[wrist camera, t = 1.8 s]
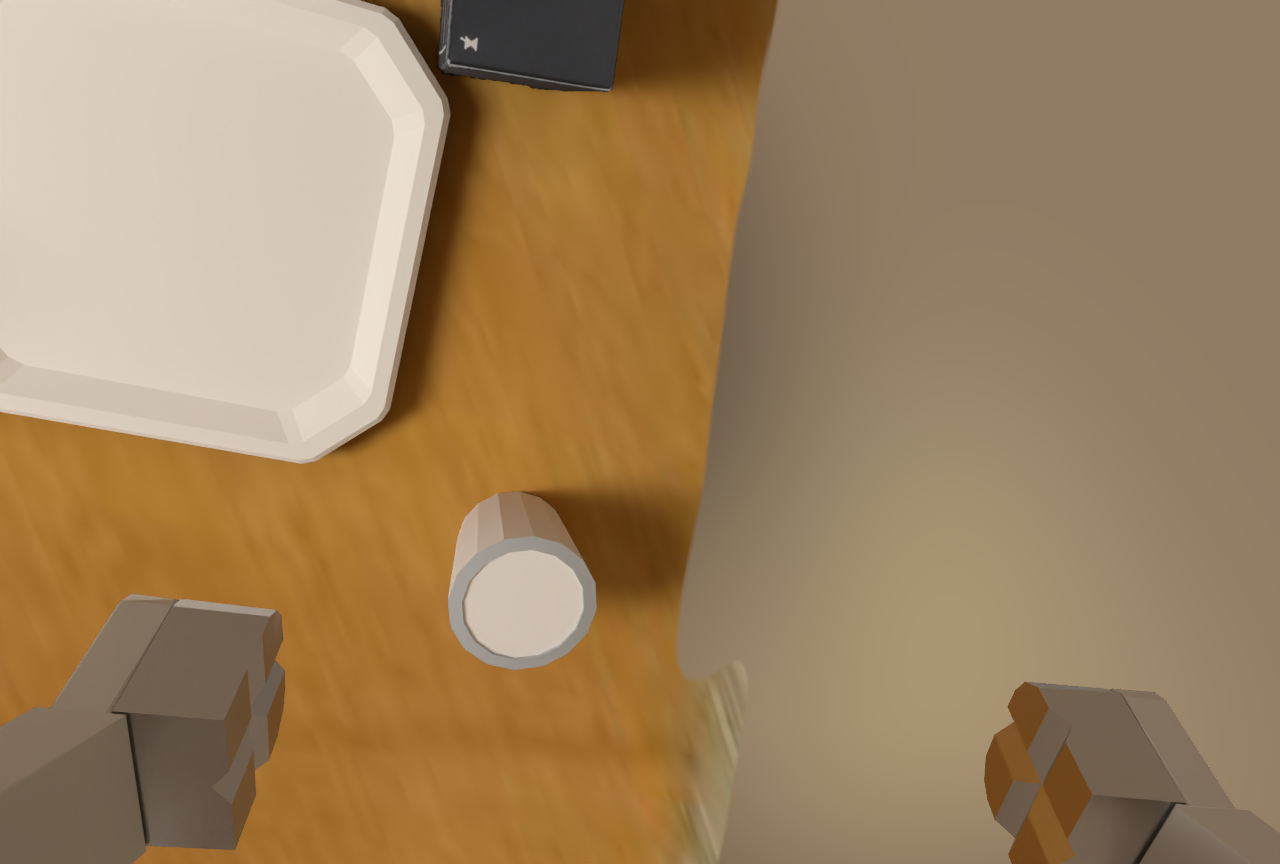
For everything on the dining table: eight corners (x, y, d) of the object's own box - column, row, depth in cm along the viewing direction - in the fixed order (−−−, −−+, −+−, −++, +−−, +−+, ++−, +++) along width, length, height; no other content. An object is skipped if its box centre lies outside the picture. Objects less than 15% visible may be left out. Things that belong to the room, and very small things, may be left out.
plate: (378, 462, 50) (376, 478, 48) (-95, 379, 45) (-119, 393, 43) (466, 33, 45) (468, 31, 43) (-61, -121, 39) (-88, -132, 37)
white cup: (420, 567, 52) (419, 636, 46) (487, 457, 51) (495, 512, 44) (535, 619, 54) (549, 692, 48) (601, 515, 53) (625, 576, 47)
